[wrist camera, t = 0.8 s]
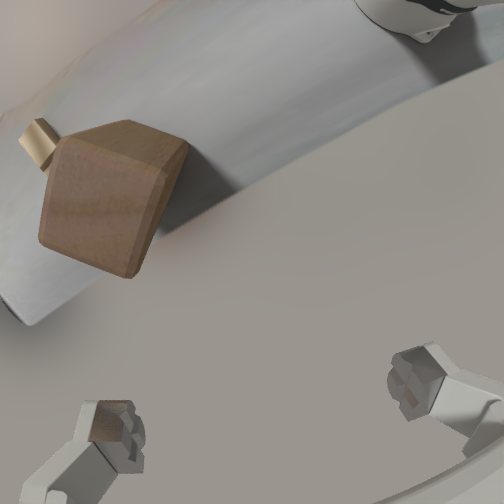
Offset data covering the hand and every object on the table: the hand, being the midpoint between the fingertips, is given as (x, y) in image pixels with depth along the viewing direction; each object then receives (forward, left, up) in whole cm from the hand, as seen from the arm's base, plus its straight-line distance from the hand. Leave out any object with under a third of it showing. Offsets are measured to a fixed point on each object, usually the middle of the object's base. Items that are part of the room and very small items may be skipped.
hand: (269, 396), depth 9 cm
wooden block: (+9, -7, -37) cm, 39 cm away
